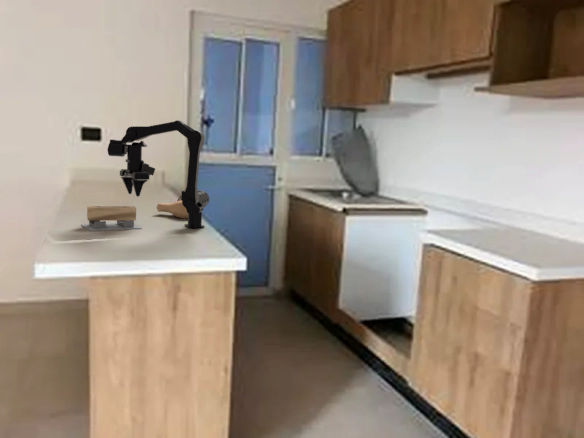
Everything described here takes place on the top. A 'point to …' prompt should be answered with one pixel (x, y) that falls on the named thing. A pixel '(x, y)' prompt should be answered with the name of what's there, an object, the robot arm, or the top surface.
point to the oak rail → (111, 213)
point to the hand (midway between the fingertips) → (133, 195)
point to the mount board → (110, 225)
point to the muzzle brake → (201, 198)
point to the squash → (173, 209)
